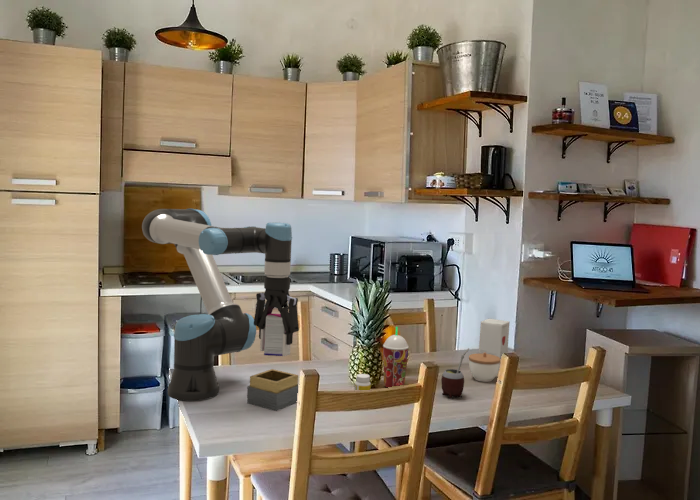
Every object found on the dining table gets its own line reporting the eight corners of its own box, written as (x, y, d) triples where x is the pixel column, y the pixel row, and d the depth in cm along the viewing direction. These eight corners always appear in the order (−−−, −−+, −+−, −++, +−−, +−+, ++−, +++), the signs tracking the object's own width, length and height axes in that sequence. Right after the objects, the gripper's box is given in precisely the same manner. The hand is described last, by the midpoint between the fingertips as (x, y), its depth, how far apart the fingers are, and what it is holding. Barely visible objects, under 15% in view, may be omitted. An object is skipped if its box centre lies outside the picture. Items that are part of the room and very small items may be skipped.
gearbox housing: (247, 402, 185) (247, 376, 184) (271, 393, 194) (271, 368, 194) (276, 411, 179) (277, 383, 178) (299, 401, 188) (300, 375, 188)
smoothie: (407, 391, 202) (410, 330, 200) (381, 390, 202) (384, 329, 200) (405, 383, 210) (408, 324, 208) (380, 382, 210) (383, 323, 208)
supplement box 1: (283, 356, 183) (285, 317, 182) (263, 355, 183) (264, 316, 182) (286, 351, 188) (287, 313, 187) (266, 350, 188) (267, 312, 187)
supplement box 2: (499, 363, 241) (502, 324, 239) (477, 359, 245) (479, 321, 244) (507, 358, 248) (510, 321, 247) (486, 354, 253) (488, 317, 252)
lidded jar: (464, 380, 216) (466, 354, 215) (471, 373, 226) (472, 347, 225) (496, 385, 212) (498, 358, 211) (501, 377, 222) (502, 351, 221)
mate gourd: (438, 397, 197) (440, 350, 195) (444, 390, 204) (446, 345, 203) (462, 401, 194) (464, 353, 193) (467, 394, 201) (469, 348, 200)
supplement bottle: (373, 403, 189) (374, 376, 188) (362, 406, 186) (363, 379, 185) (361, 399, 192) (362, 372, 192) (350, 402, 189) (351, 375, 188)
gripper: (313, 278, 181) (310, 356, 183) (258, 271, 192) (256, 344, 194) (297, 280, 175) (295, 361, 177) (242, 273, 186) (240, 349, 188)
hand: (275, 352), depth 186 cm, fingers closed on supplement box 1, 8 cm apart
